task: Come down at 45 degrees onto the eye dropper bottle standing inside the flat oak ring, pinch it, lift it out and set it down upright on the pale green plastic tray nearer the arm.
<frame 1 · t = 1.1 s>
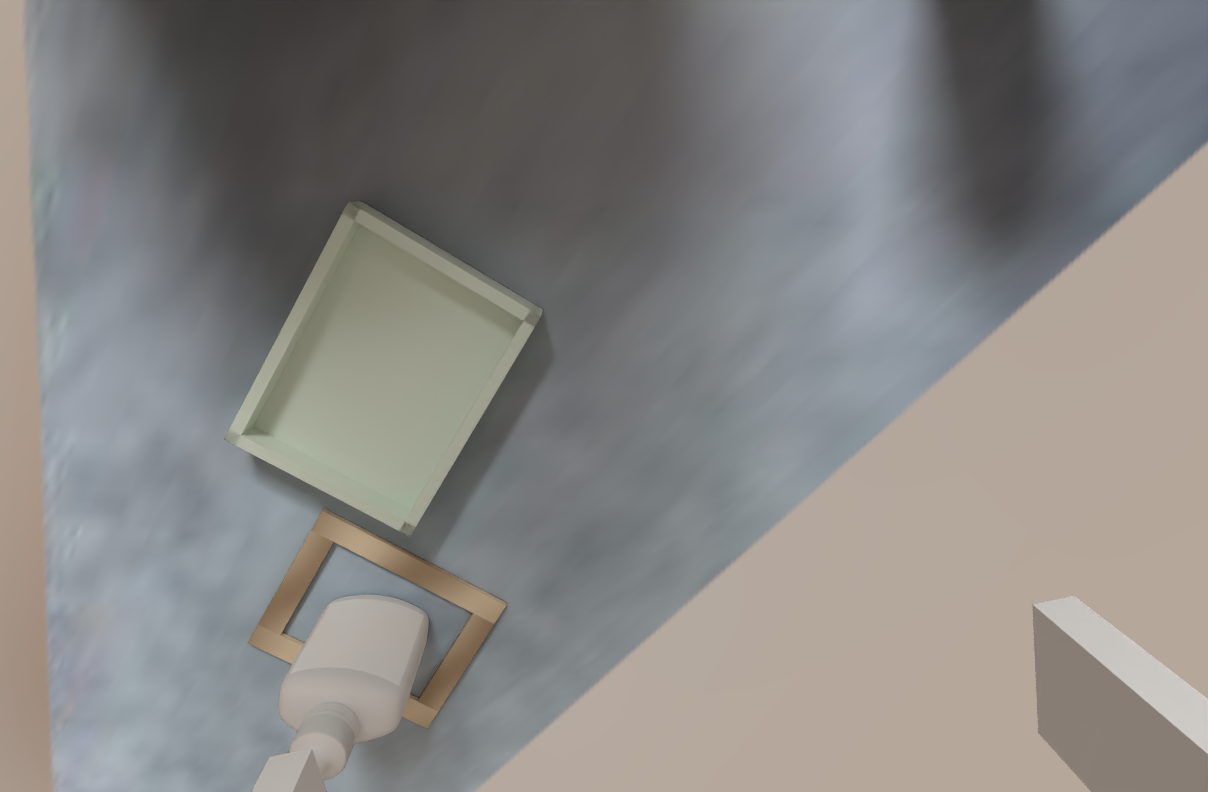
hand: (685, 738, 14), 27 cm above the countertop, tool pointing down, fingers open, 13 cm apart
tray: (391, 368, 39), on the countertop
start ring: (378, 621, 42), on the countertop
eye dropper bottle: (379, 619, 43), on the countertop
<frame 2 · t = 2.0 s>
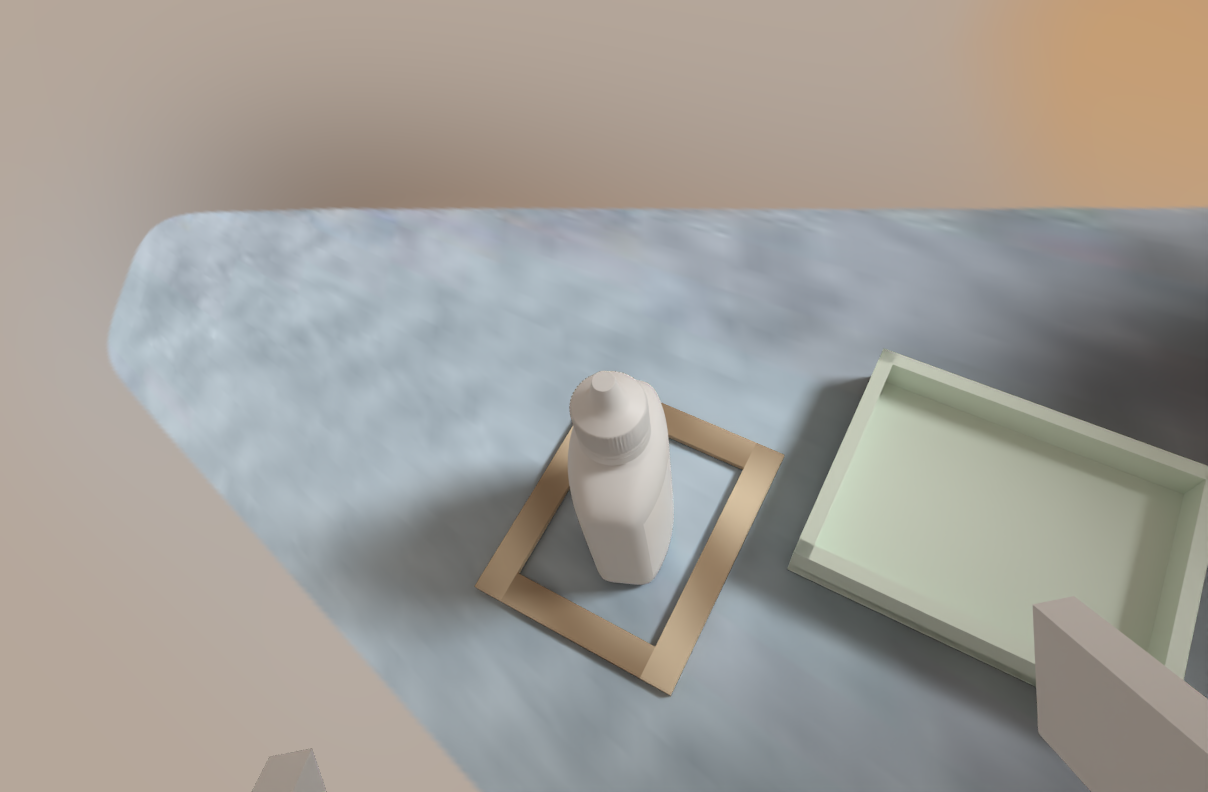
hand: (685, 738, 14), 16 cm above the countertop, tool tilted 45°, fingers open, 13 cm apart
tray: (988, 532, 31), on the countertop
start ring: (633, 521, 33), on the countertop
eye dropper bottle: (633, 523, 33), on the countertop
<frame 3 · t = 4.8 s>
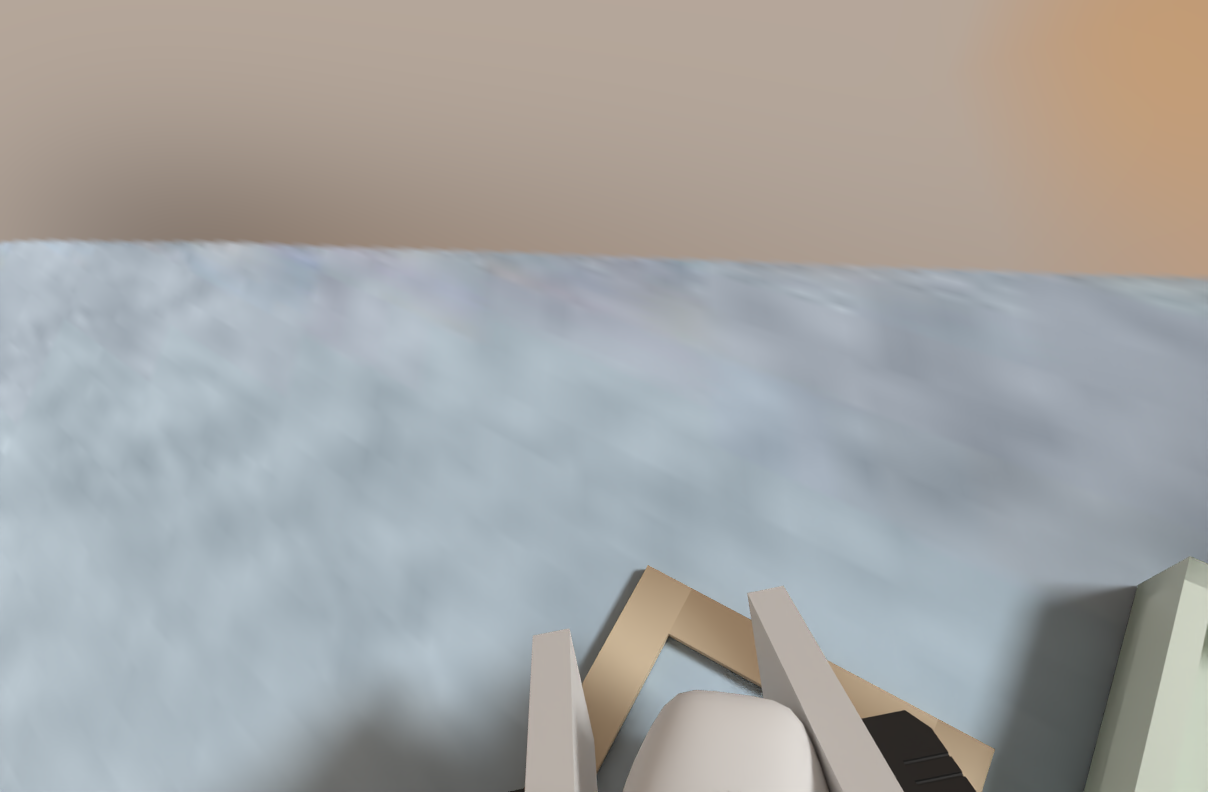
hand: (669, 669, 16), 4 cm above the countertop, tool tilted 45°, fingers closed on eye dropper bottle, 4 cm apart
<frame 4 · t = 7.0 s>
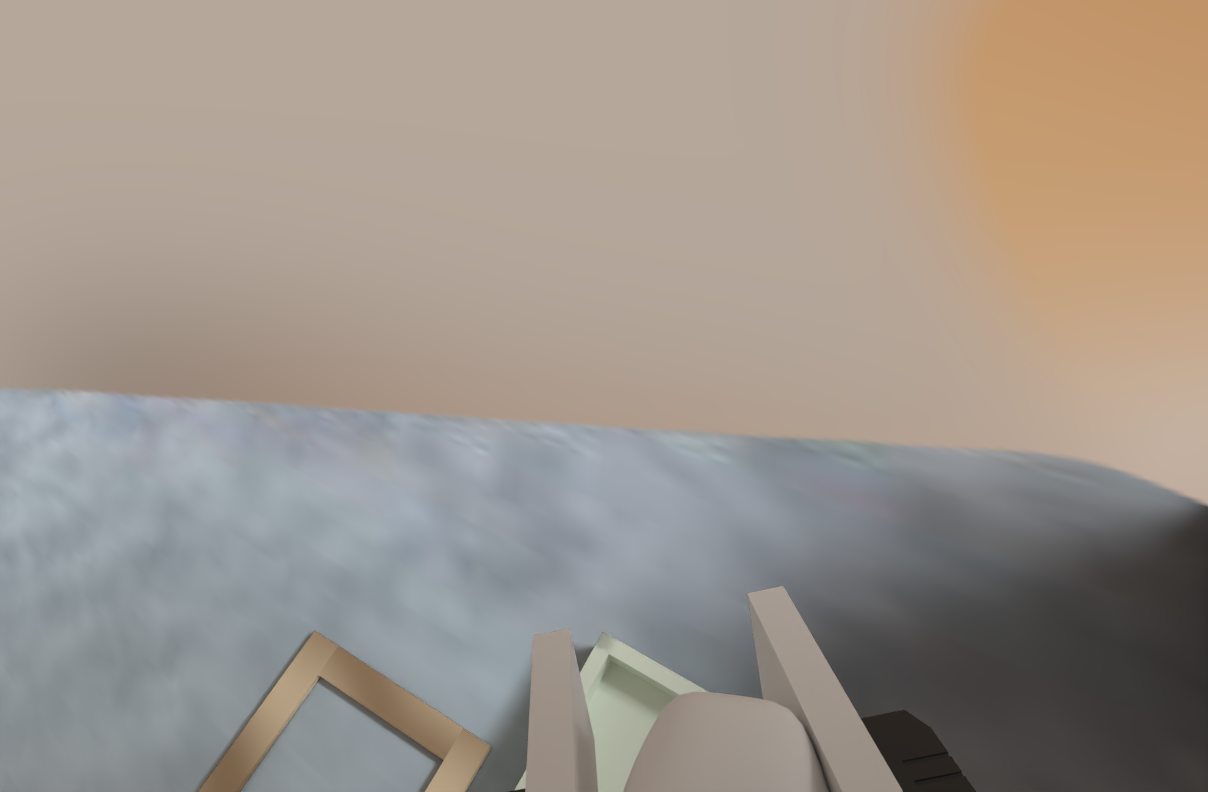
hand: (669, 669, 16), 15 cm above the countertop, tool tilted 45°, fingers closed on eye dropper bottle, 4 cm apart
when the fingers open (6 cm above the countertop, at t = 8.9 s): eye dropper bottle drops 1 cm, resting on tray.
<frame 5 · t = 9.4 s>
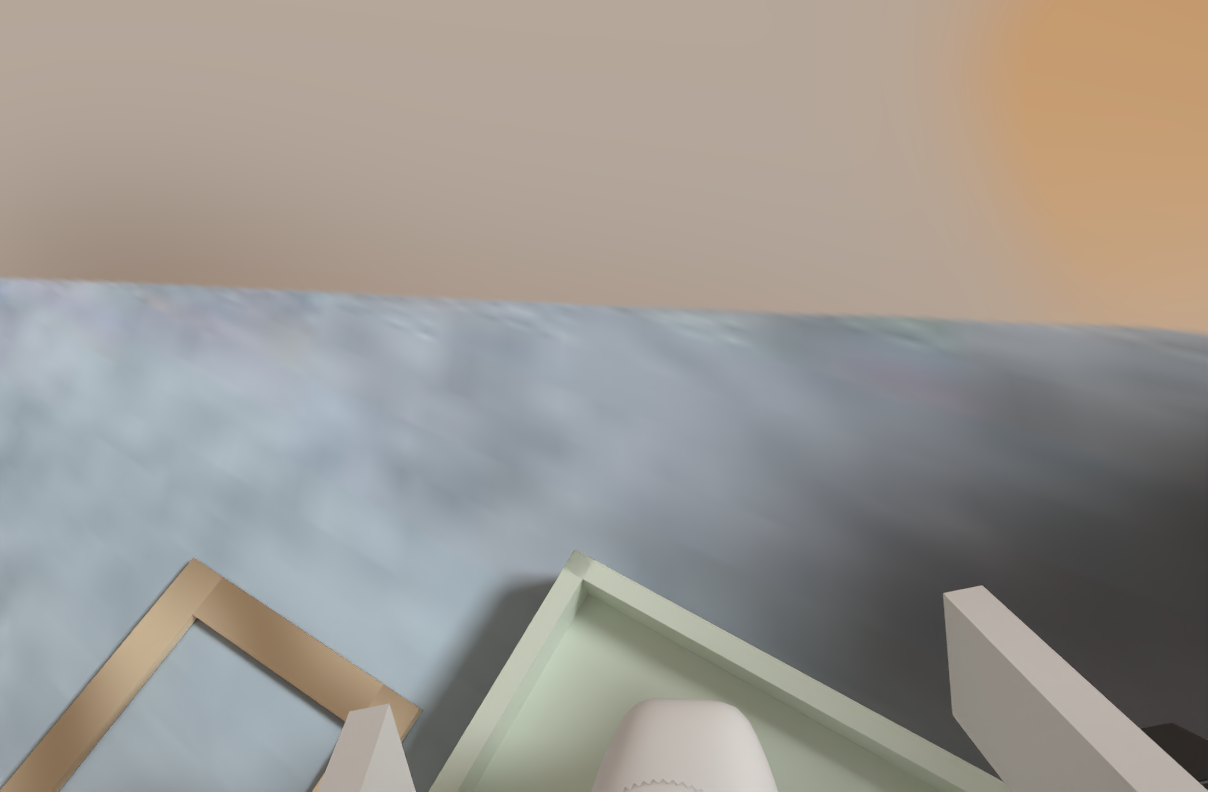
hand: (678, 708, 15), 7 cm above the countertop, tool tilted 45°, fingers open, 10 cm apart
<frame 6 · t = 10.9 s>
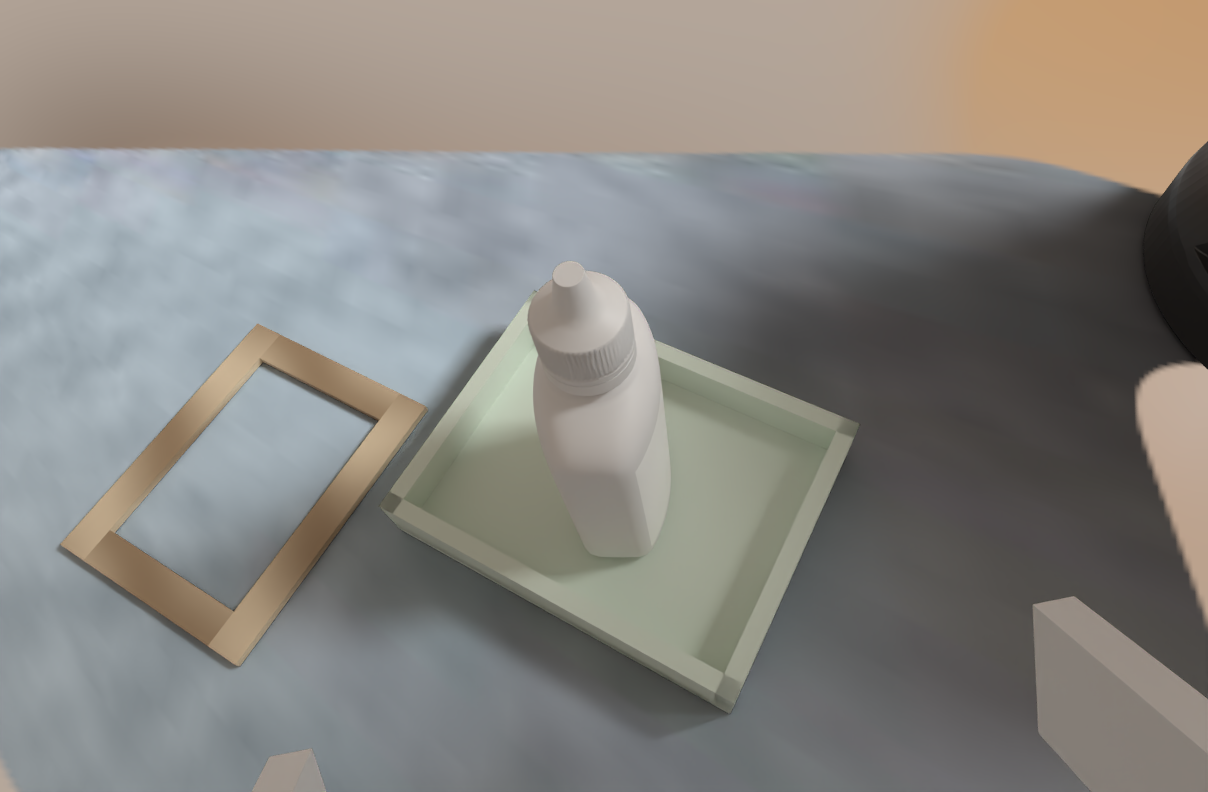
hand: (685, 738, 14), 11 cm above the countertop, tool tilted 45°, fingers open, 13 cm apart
tray: (623, 491, 28), on the countertop
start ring: (251, 476, 30), on the countertop
eye dropper bottle: (623, 485, 27), point 1 cm above the countertop, touching tray
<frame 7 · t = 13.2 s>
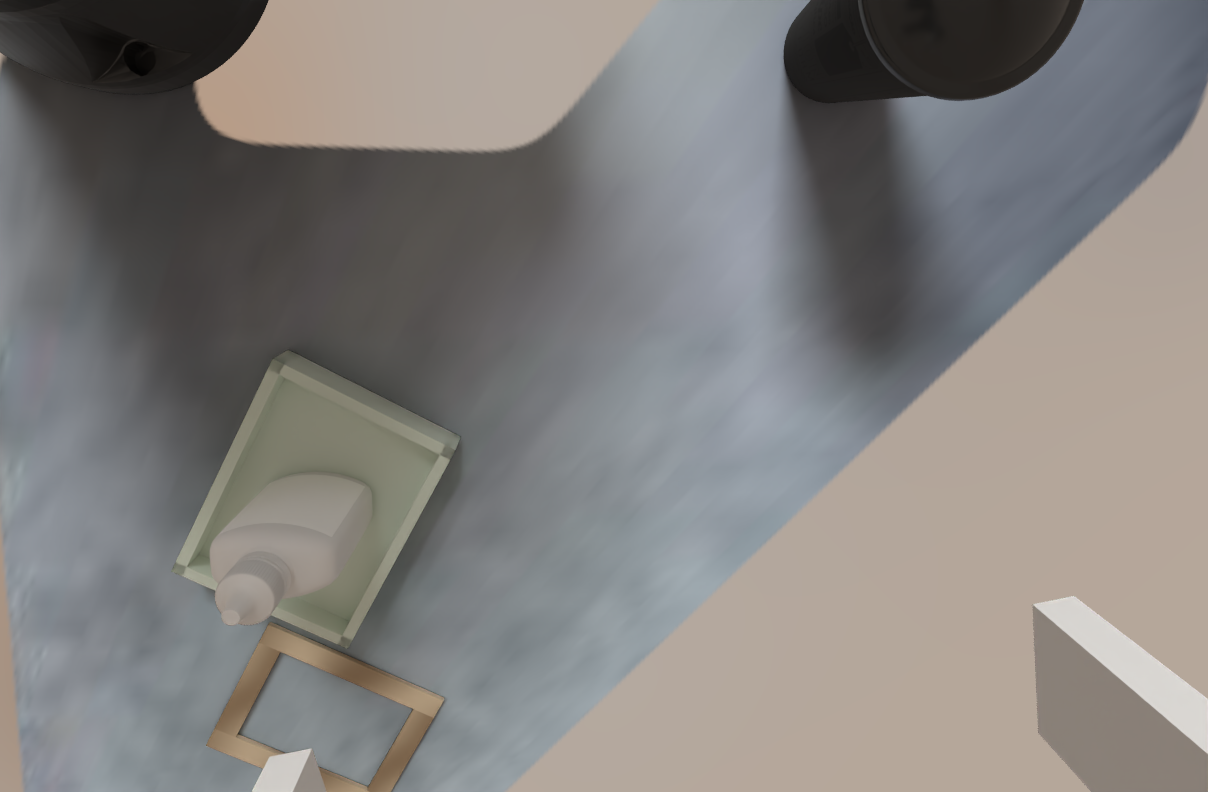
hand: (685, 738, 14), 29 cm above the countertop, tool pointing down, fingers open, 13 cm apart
tray: (324, 494, 42), on the countertop
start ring: (326, 719, 46), on the countertop
eye dropper bottle: (322, 498, 42), point 1 cm above the countertop, touching tray
drinking cup: (830, 52, 38), on the countertop
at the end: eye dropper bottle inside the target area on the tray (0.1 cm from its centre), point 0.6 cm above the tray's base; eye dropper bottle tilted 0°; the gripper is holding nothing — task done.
